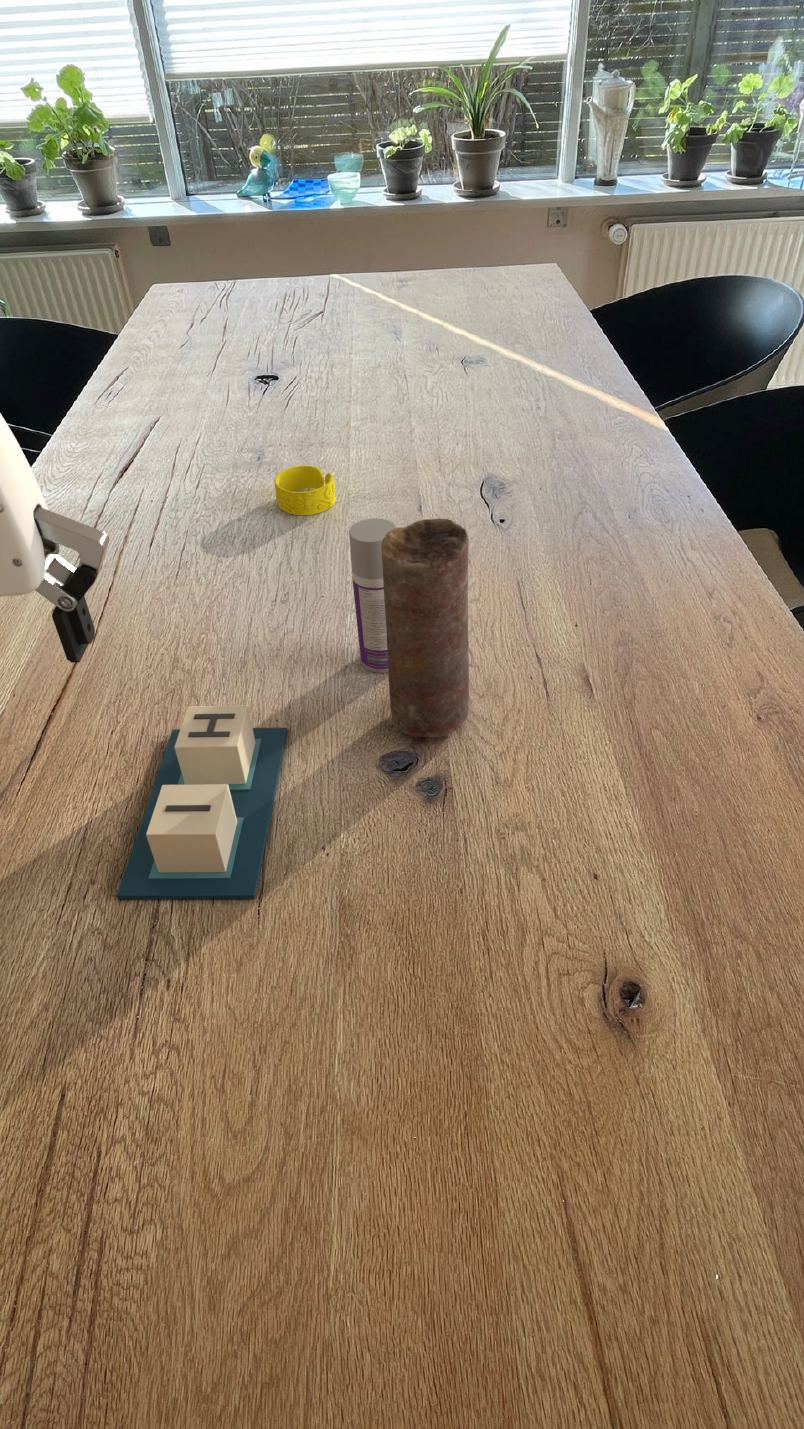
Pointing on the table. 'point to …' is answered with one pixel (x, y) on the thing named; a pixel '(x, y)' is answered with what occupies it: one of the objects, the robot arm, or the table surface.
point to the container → (370, 591)
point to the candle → (427, 626)
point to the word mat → (248, 839)
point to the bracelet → (306, 500)
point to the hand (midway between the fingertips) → (10, 651)
